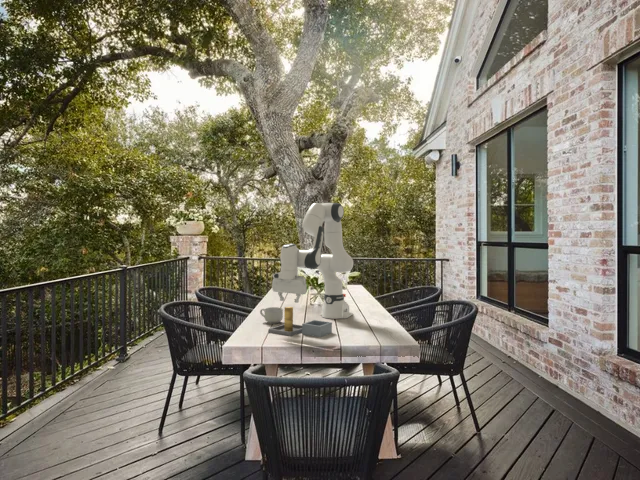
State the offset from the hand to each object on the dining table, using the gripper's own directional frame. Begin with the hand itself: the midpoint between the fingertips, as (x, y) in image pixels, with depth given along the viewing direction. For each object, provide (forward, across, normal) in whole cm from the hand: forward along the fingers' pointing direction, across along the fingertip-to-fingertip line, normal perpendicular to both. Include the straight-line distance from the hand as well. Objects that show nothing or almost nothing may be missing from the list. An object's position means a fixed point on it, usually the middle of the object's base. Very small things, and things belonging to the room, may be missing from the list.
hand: (289, 301), depth 211 cm
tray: (+16, 0, +1) cm, 16 cm away
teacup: (+17, +23, -13) cm, 31 cm away
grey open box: (+16, -15, -3) cm, 22 cm away
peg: (+15, 0, +1) cm, 15 cm away
